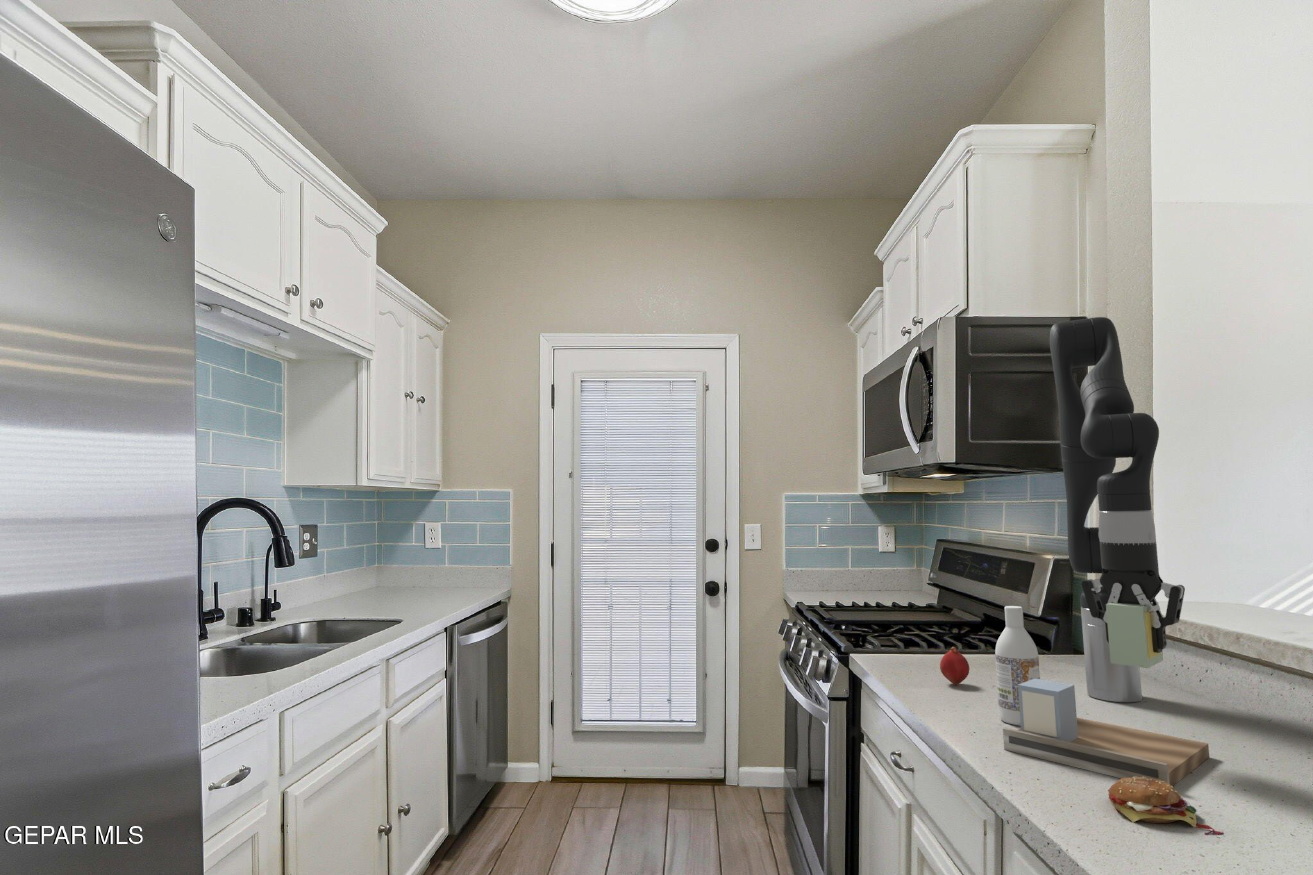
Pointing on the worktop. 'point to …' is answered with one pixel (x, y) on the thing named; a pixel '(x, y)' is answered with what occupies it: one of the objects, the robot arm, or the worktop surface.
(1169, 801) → the hamburger
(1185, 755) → the wooden slab
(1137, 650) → the tea box
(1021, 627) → the bath foam
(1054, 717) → the box
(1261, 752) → the worktop surface
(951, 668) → the onion
